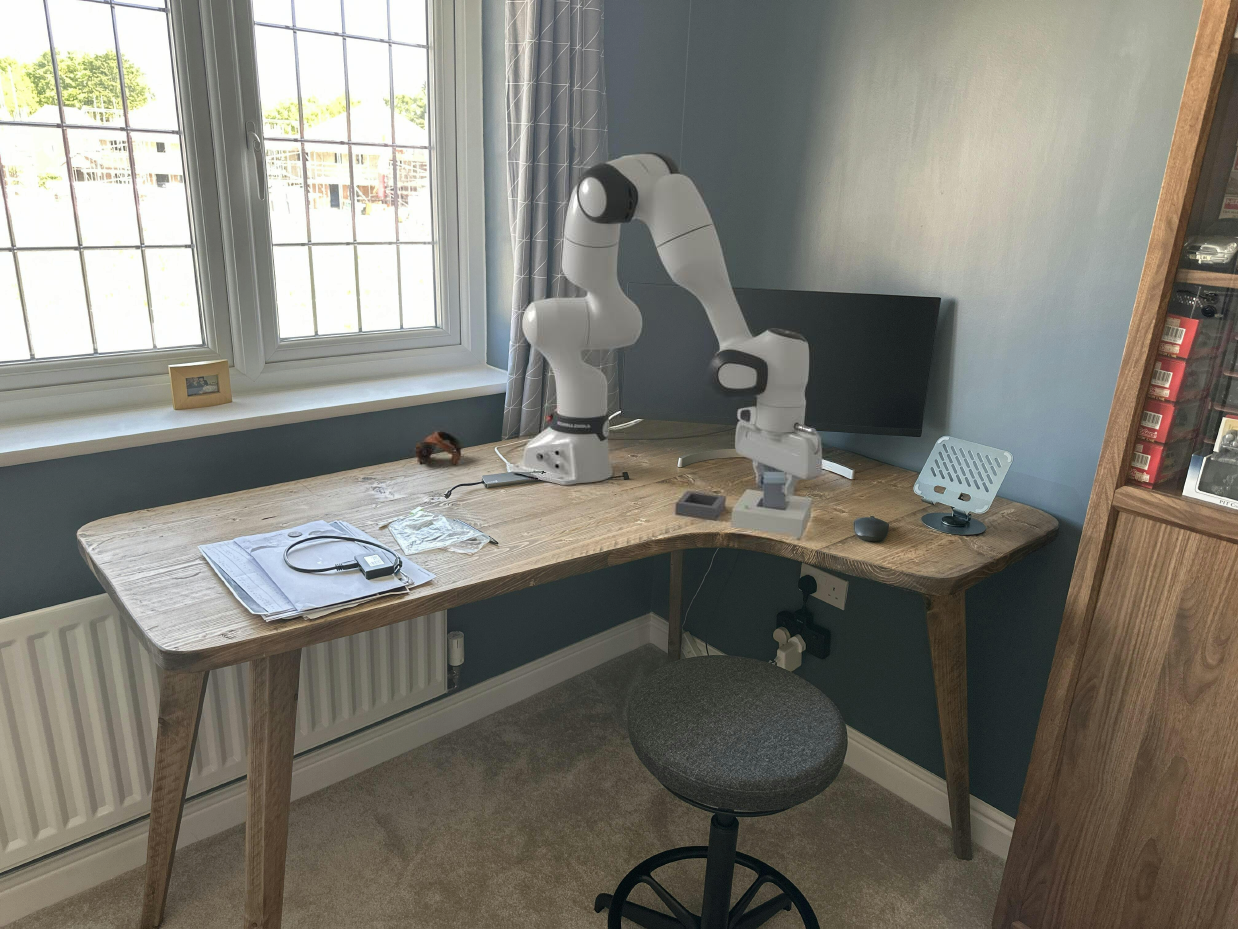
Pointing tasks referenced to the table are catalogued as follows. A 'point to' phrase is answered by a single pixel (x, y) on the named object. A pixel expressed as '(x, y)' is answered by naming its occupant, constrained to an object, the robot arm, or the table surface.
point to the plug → (774, 490)
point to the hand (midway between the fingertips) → (774, 488)
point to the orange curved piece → (427, 447)
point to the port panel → (772, 515)
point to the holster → (700, 505)
